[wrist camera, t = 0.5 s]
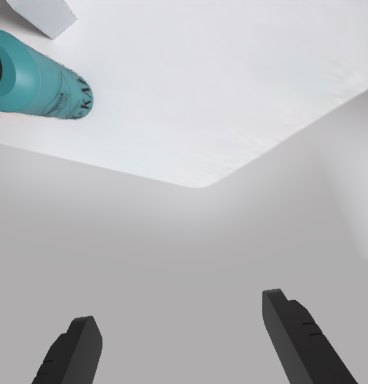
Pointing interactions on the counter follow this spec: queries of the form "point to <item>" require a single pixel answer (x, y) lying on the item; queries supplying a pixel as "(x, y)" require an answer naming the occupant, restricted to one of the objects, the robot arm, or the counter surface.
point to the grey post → (45, 14)
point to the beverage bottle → (39, 83)
